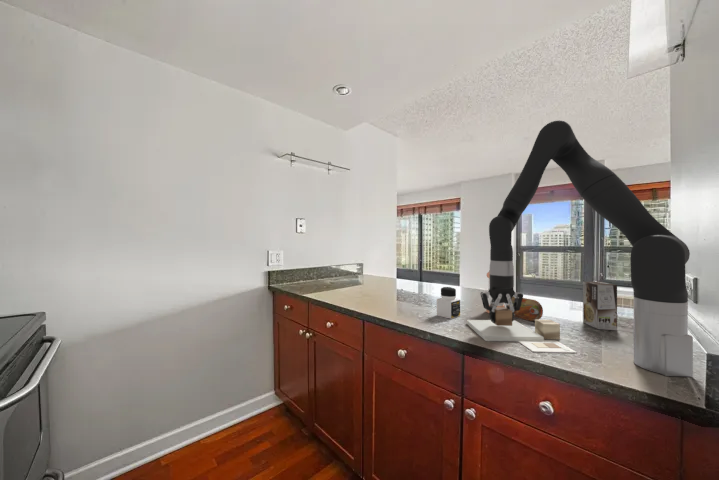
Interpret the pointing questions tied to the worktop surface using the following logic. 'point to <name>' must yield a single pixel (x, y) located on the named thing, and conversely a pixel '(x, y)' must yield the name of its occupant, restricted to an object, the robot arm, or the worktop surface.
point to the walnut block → (503, 316)
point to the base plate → (503, 331)
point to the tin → (529, 309)
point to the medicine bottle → (448, 303)
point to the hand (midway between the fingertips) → (501, 322)
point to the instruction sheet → (546, 346)
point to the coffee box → (600, 305)
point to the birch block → (547, 329)
